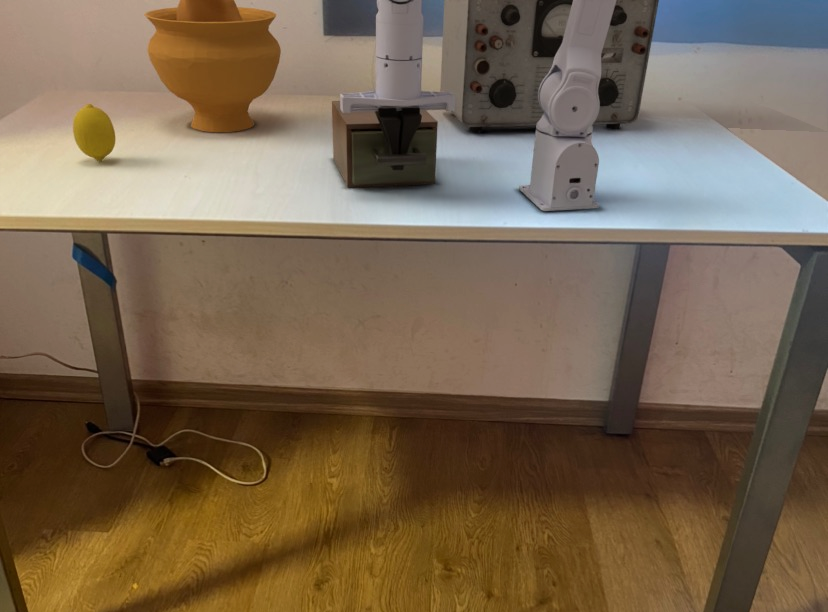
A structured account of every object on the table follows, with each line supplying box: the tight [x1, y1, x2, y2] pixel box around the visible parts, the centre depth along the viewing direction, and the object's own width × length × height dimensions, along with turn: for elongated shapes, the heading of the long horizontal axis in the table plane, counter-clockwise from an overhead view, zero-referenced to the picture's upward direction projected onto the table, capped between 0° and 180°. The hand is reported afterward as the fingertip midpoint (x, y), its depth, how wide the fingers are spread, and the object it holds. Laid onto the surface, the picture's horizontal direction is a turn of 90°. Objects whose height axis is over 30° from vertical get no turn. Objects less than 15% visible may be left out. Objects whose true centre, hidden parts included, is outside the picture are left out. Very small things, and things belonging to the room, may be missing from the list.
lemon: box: [72, 103, 116, 163], centre depth 113 cm, size 6×6×8 cm
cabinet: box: [331, 100, 439, 188], centre depth 113 cm, size 14×12×8 cm
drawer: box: [351, 127, 436, 185], centre depth 109 cm, size 18×11×7 cm, turn 13°
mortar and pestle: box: [144, 0, 282, 133], centre depth 127 cm, size 21×21×30 cm
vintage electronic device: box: [439, 0, 660, 134], centre depth 135 cm, size 32×18×25 cm, turn 101°
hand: (396, 167), depth 105 cm, fingers closed, pressing on drawer
